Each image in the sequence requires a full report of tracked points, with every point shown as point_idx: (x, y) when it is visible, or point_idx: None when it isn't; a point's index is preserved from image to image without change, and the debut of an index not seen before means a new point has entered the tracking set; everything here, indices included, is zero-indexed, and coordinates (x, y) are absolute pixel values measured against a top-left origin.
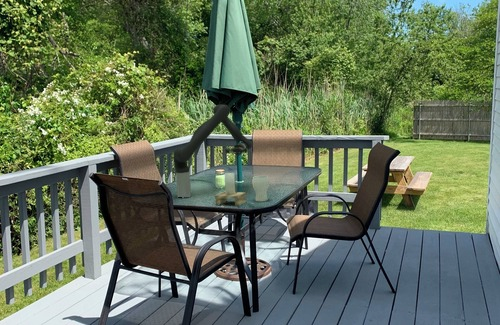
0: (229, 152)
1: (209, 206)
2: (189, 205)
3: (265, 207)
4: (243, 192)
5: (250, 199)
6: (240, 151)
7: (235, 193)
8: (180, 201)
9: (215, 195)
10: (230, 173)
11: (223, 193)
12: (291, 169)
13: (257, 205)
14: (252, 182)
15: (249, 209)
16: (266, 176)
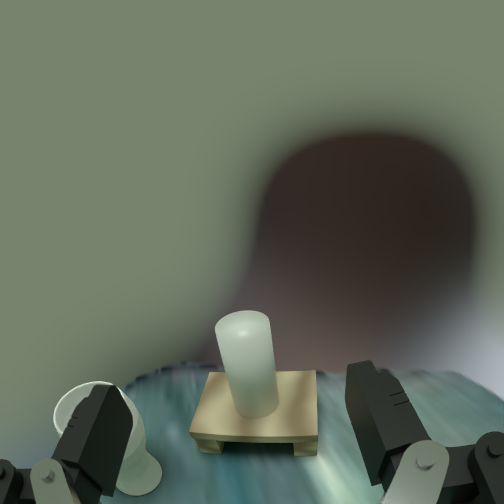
0: (364, 453)
1: (329, 380)
2: (409, 373)
3: (132, 385)
4: (200, 430)
5: (187, 494)
6: (117, 399)
7: (235, 412)
8: (486, 399)
9: (315, 373)
10: (235, 324)
11: (296, 407)
12: None
13: (154, 405)
14: (139, 417)
15: (179, 367)
16: (57, 424)
